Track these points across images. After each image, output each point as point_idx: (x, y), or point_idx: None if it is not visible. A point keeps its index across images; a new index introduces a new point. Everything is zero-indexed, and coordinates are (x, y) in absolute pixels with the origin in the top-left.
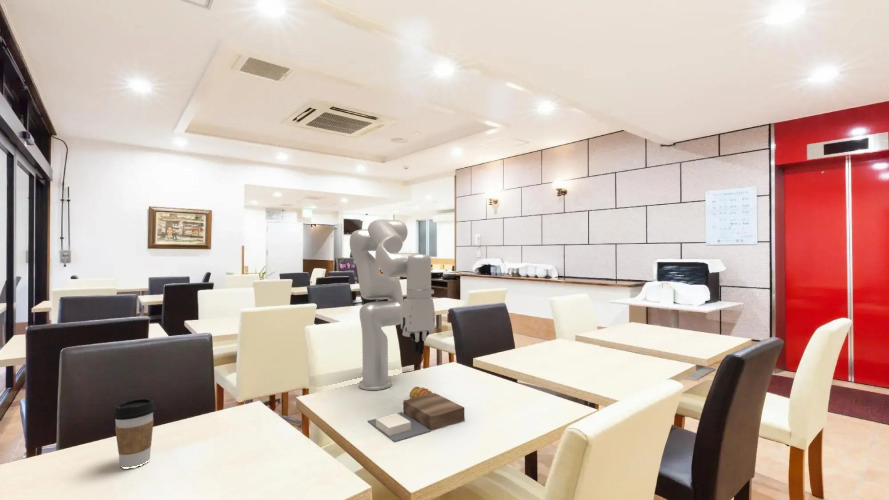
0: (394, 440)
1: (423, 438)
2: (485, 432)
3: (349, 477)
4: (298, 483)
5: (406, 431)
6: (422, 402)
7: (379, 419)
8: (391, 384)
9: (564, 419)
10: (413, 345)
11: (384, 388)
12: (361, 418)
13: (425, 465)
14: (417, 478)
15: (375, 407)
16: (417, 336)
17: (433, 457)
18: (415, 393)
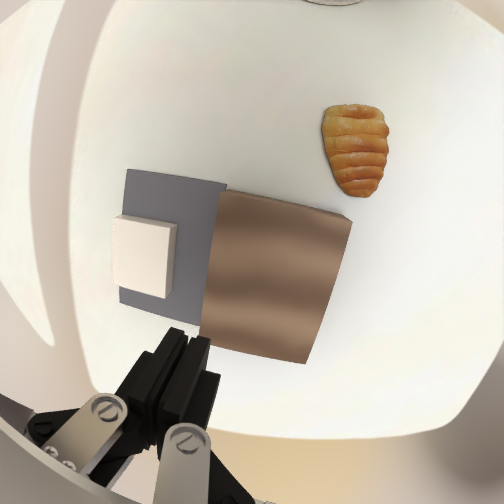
0: (120, 300)
1: None
2: (281, 397)
3: (47, 321)
4: (11, 283)
5: None
6: (253, 255)
7: (117, 228)
8: (356, 1)
9: (403, 430)
10: (127, 378)
11: (321, 3)
12: (130, 139)
13: None
14: (107, 386)
15: (201, 93)
16: (107, 472)
17: None
18: (334, 134)
